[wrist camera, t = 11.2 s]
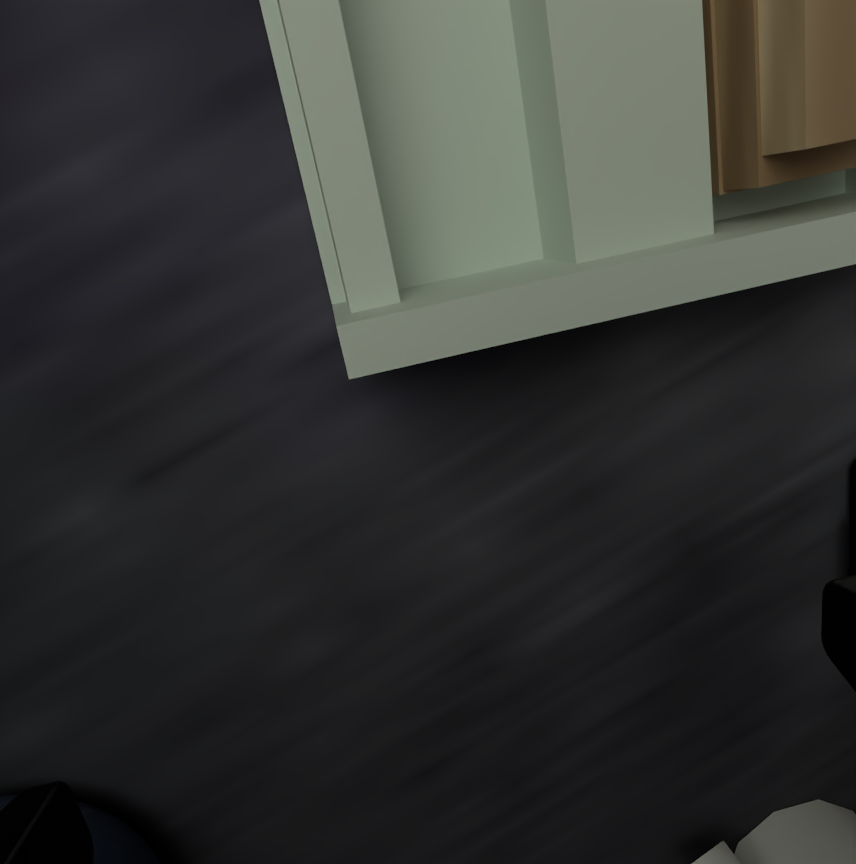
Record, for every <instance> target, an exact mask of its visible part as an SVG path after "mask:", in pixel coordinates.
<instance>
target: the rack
mask: <svg viewBox="0 0 856 864" xmlns="http://www.w3.org/2000/svg"><path fill="white" fill-rule="evenodd" d="M259 1H260V5H261V9H262V14H263V18H264V22H265V26H266V30H267V34H268V39H269V43H270V47H271V51H272V55H273V60H274V64H275V68H276V72H277V76H278V81H279V85H280V89H281V93H282V97H283V101H284V106H285V110H286V114H287V118H288V122H289V127H290V131H291V135H292V139H293V143H294V147H295V152H296V156H297V160H298V164H299V168H300V173H301V177H302V181H303V185H304V189H305V193H306V198H307V202H308V206H309V210H310V214H311V219H312V223H313V227H314V231H315V235H316V240H317V244H318V248H319V252H320V256H321V260H322V265H323V269H324V273H325V277H326V281H327V286H328V290H329V294H330V298H331V302H332V307H333V312H334V317H335V322H336V327H337V331H338V335H339V339H340V343H341V348H342V352H343V356H344V360H345V364H346V369H347V373H348V377H349V379H353V378H357V377H362V376H366V375H371V374H375V373H379V372H384V371H388V370H393V369H397V368H401V367H406V366H410V365H414V364H419V363H423V362H428V361H432V360H436V359H441V358H445V357H450V356H454V355H458V354H463V353H467V352H472V351H476V350H480V349H485V348H489V347H494V346H498V345H502V344H507V343H511V342H515V341H520V340H524V339H529V338H533V337H537V336H542V335H546V334H551V333H555V332H559V331H564V330H568V329H573V328H577V327H581V326H586V325H590V324H595V323H599V322H603V321H608V320H612V319H617V318H621V317H625V316H630V315H634V314H638V313H643V312H647V311H652V310H656V309H660V308H665V307H669V306H674V305H678V304H682V303H687V302H691V301H696V300H700V299H704V298H709V297H713V296H718V295H722V294H726V293H731V292H735V291H739V290H744V289H748V288H753V287H757V286H761V285H766V284H770V283H775V282H779V281H783V280H788V279H792V278H797V277H801V276H805V275H810V274H814V273H819V272H823V271H827V270H832V269H836V268H840V267H845V266H849V265H854V264H856V167H854V168H849V169H844V170H840V171H835V172H830V173H826V174H821V175H816V176H811V177H807V178H802V179H797V180H793V181H788V182H783V183H779V184H774V185H769V186H765V187H760V188H751V189H746V190H742V191H737V192H732V193H728V194H723V195H715V196H712V184H711V165H710V145H709V126H708V107H707V87H706V68H705V49H704V30H703V10H702V0H259Z"/></svg>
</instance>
